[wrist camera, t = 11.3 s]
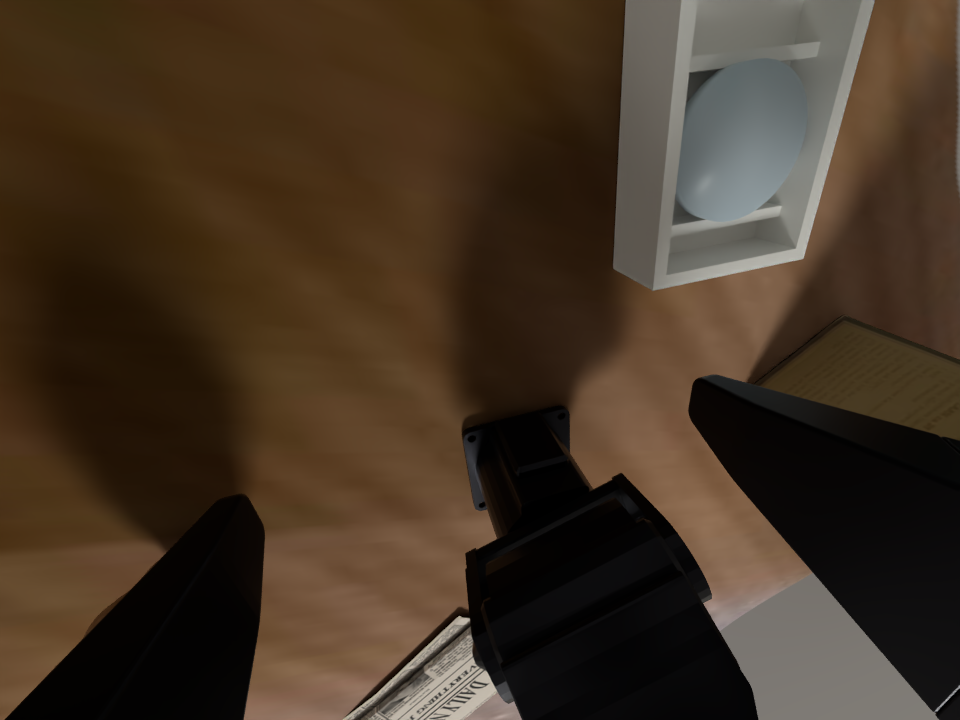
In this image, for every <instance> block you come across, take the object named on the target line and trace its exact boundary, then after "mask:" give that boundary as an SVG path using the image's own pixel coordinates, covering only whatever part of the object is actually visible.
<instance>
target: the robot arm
mask: <svg viewBox="0 0 960 720" xmlns="http://www.w3.org/2000/svg"><path fill="white" fill-rule="evenodd" d="M688 411H689V416H690V419H691V421H692V423H693V424H694V425H695V427H696V428H697V430H698V431H699V432H700V434H701V435H702V437H703V438H704V440H705V441H706V442H707V444H708V445H709V447H710V448H711V449H712V451H713V452H714V454H715V455H716V457H717V458H718V459H719V461H720V462H721V464H722V465H723V466H724V468H725V469H726V471H727V472H728V473H729V475H730V476H731V477H732V479H733V480H734V481H735V482H736V484H737V485H738V486H739V487H740V488H741V490H742V491H743V492H744V493H745V494H746V495H747V497H748V498H749V499H750V500H751V501H752V502H753V504H754V505H755V506H756V507H757V508H758V509H759V511H760V512H761V513H762V514H763V515H764V516H765V518H766V519H767V520H768V521H769V522H770V523H771V525H772V526H773V527H774V528H775V529H776V530H777V531H778V533H779V534H780V535H781V536H782V537H783V538H784V540H785V541H786V542H787V543H788V544H789V545H790V547H791V548H792V549H793V550H794V551H795V552H796V554H797V555H798V556H799V557H800V558H801V559H802V560H803V562H804V563H805V564H806V565H807V566H808V567H809V569H810V570H811V571H812V572H813V573H814V574H815V576H816V577H817V578H818V579H819V580H820V581H821V582H822V584H823V585H824V586H825V587H826V588H827V589H828V591H829V592H830V593H831V594H832V595H833V596H834V598H835V599H836V600H837V601H838V602H839V603H840V605H842V607H843V608H844V609H845V610H846V612H847V613H848V614H849V615H850V616H851V617H852V619H853V620H854V621H855V622H856V623H857V624H858V625H859V627H860V628H861V629H862V630H863V631H864V632H865V634H866V635H867V636H868V637H869V638H870V639H871V641H872V642H873V643H874V644H875V645H876V646H877V647H878V649H879V650H880V651H881V652H882V653H883V654H884V656H885V657H886V658H887V659H888V660H889V661H890V663H891V664H892V665H893V666H894V667H895V668H896V669H897V671H898V672H899V673H900V674H901V675H902V677H903V678H904V679H905V680H906V681H907V682H908V683H909V685H910V686H911V687H912V688H913V689H914V690H915V692H916V693H917V694H918V695H919V696H920V697H921V699H922V700H923V701H924V702H925V703H926V704H927V705H928V707H929V708H930V709H931V710H932V711H933V712H936V716H937V718H938V719H939V720H960V441H959V440H956V439H952V438H948V437H944V436H943V437H940V436H938V435H937V434H933V433H930V432H926V431H922V430H919V429H915V428H911V427H908V426H904V425H900V424H896V423H893V422H889V421H885V420H882V419H878V418H874V417H871V416H867V415H863V414H860V413H856V412H852V411H849V410H845V409H841V408H838V407H834V406H830V405H826V404H823V403H819V402H815V401H812V400H808V399H804V398H801V397H797V396H793V395H790V394H786V393H782V392H779V391H775V390H771V389H767V388H764V387H760V386H756V385H753V384H749V383H745V382H742V381H738V380H734V379H731V378H727V377H723V376H720V375H708V376H704V377H700V378H697V379H696V380H695V381H694V383H693V385H692V391H691V397H690V403H689V409H688ZM560 413H562V414H561V415H560V416H558V415H559V414H560ZM471 435H474V436H473V437H472V438H468V437H469V436H471ZM462 440H463V446H464V452H465V457H466V463H467V469H468V475H469V480H470V486H471V492H472V498H473V503H474V506H475V509H476V510H479V511H482V510H486V509H487V510H488V513H489V516H490V519H491V522H492V525H493V528H494V531H495V534H496V537H497V539H496V540H494V541H492V542H491V543H489V544H487V545H485V546H483V547H481V548H479V549H476V548H475V549H473V550H471V551H469V552H467V553H466V554H465V555H466V565H467V568H466V569H465V572H466V583H467V593H468V604H469V615H470V626H471V635H472V639H473V647H472V655H473V658H474V661H475V663H476V665H477V666H478V667H479V668H481V669H483V670H485V671H486V672H487V673H488V675H489V677H490V679H491V681H492V683H493V685H494V687H495V688H496V690H497V692H498V693H499V695H500V696H501V698H502V699H503V700H504V701H505V702H506V703H508V704H509V703H511V702H513V701H515V704H516V706H517V709H518V711H519V713H520V716H521V718H522V720H758V715H757V710H756V706H755V700H754V695H753V691H752V688H751V686H750V684H749V682H748V681H747V679H746V677H745V676H744V674H743V673H742V672H741V670H740V667H739V665H738V663H737V660H736V659H735V657H734V656H733V654H732V652H731V650H730V649H729V647H728V645H727V643H726V642H725V640H724V638H723V637H722V635H721V633H720V631H719V630H718V628H717V626H716V625H715V623H714V621H713V620H712V618H711V616H710V614H709V613H708V611H707V609H706V608H705V606H704V604H703V603H704V602H706V601H708V600H710V599H712V594H711V590H710V587H709V585H708V583H707V581H706V578H705V576H704V575H703V573H702V571H701V569H700V567H699V565H698V564H697V562H696V560H695V559H694V557H693V555H692V554H691V552H690V551H689V549H688V548H687V546H686V545H685V543H684V542H683V540H682V539H681V537H680V536H679V535H678V533H677V532H676V531H675V529H674V528H673V527H672V525H671V524H670V523H669V522H668V521H667V520H666V519H665V517H664V516H663V515H662V514H661V513H660V512H659V511H658V510H657V509H656V508H655V507H654V506H653V505H652V504H651V503H650V502H649V501H648V500H647V499H646V498H645V497H644V496H643V495H642V494H641V493H640V491H639V490H638V489H637V488H636V487H635V486H634V485H633V484H632V483H631V482H630V481H629V480H628V479H627V478H626V477H625V476H624V475H623V474H622V473H620V474H618V475H616V476H614V477H612V480H611V481H609V482H607V483H605V484H603V485H601V486H599V487H597V488H595V489H593V488H592V486H591V485H590V483H589V482H588V480H587V479H586V477H585V476H584V474H583V473H582V471H581V470H580V468H579V466H578V465H577V463H576V462H575V460H574V459H573V457H572V456H571V454H570V419H569V411H568V410H567V409H566V407H565V406H562V405H561V406H555V407H551V408H547V409H543V410H539V411H535V412H531V413H527V414H523V415H519V416H515V417H511V418H507V419H503V420H499V421H495V422H491V423H487V424H483V425H479V426H475V427H471V428H468V429H466V430H465V431H464V432H463V433H462ZM481 502H482V503H481ZM264 543H265V531H264V526H263V523H262V521H261V519H260V518H259V516H258V514H257V512H256V510H255V509H254V507H253V505H252V503H251V501H250V500H249V498H248V497H247V496H246V495H245V494H237V495H233V496H229V497H225V498H222V499H219V500H218V501H216V502H215V503H214V504H213V505H212V506H211V507H210V508H209V509H208V510H207V511H206V512H205V514H204V515H203V516H202V517H201V518H200V519H199V520H198V521H197V522H196V523H195V524H194V525H193V526H192V527H191V528H190V529H189V530H188V531H187V532H186V533H185V534H184V535H183V536H182V537H181V538H180V539H179V540H178V541H177V542H176V543H175V544H174V546H173V547H172V548H171V549H170V550H169V551H168V552H167V553H166V554H165V555H164V556H163V557H162V558H161V559H160V560H159V561H158V562H157V563H156V564H155V565H154V566H153V567H152V568H151V569H150V570H149V571H148V572H147V573H146V574H145V575H144V576H143V577H142V579H141V580H140V581H139V582H138V583H137V584H136V585H135V586H134V587H133V588H132V589H131V590H130V591H129V592H128V593H127V594H126V595H125V596H124V597H123V598H122V599H121V600H120V601H119V602H118V603H117V604H116V605H115V606H114V607H113V608H112V609H111V610H110V612H109V613H108V614H107V615H106V616H105V617H104V618H103V619H102V620H101V621H100V622H99V623H98V624H97V625H96V626H95V627H94V628H93V629H92V630H91V631H90V632H89V633H88V634H87V635H86V636H85V637H84V638H83V639H82V640H81V641H80V642H79V643H78V645H77V646H76V647H75V648H74V649H73V650H72V651H71V652H70V653H69V654H68V655H67V656H66V657H65V658H64V659H63V660H62V661H61V662H60V663H59V664H58V665H57V666H56V667H55V668H54V669H53V670H52V671H51V672H50V673H49V674H48V675H47V676H46V677H45V678H44V680H43V681H42V682H41V683H40V684H39V685H38V686H37V687H36V688H35V689H34V690H33V691H32V692H31V693H30V694H29V695H28V696H27V697H26V698H25V699H24V700H23V701H22V702H21V703H20V704H19V705H18V706H17V707H16V708H15V709H14V710H13V711H12V712H11V714H10V715H9V716H8V717H7V718H6V719H5V720H244V714H245V708H246V702H247V697H248V691H249V685H250V679H251V673H252V667H253V661H254V655H255V649H256V643H257V637H258V630H259V623H260V613H261V598H262V579H263V561H264Z"/></svg>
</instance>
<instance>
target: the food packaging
mask: <svg viewBox="0 0 960 720" xmlns="http://www.w3.org/2000/svg"><path fill="white" fill-rule="evenodd" d="M754 385H756V386H760V387H764V388H767V389H771V390H775V391H779V392H782V393H786V394H790V395H793V396H797V397H801V398H804V399H808V400H812V401H815V402H819V403H823V404H826V405H830V406H834V407H838V408H841V409H845V410H849V411H852V412H856V413H860V414H863V415H867V416H871V417H874V418H878V419H882V420H885V421H889V422H893V423H896V424H900V425H904V426H908V427H911V428H915V429H919V430H922V431H926V432H930V433H933V434H937V435H938V436H940V437H943V436H944V437H948V438H952V439H956V440H959V441H960V360H958V359H956V358H953V357H951V356H948V355H945V354H943V353H940V352H938V351H935V350H932V349H930V348H927V347H925V346H922V345H919V344H917V343H914V342H912V341H909V340H906V339H904V338H901V337H899V336H896V335H894V334H891V333H888V332H886V331H883V330H881V329H878V328H875V327H873V326H870V325H868V324H865V323H862V322H860V321H857V320H855V319H852V318H850V317H849V316H847V315H843V316H841V317H840V318H839V319H837V320H836V321H834V322H833V323H832V324H831V325H829V326H828V327H827V328H825V329H824V330H823V331H821V332H820V333H819V334H818V335H817V336H815V337H814V338H813V339H812V340H811V341H809V342H808V343H807V344H805V345H804V346H803V347H801V348H800V349H799V350H797V351H796V352H795V353H793V354H792V355H791V356H789V357H788V358H787V359H786V360H784V361H783V362H782V363H781V364H779V365H778V366H777V367H776V368H774V369H773V370H772V371H771V372H769V373H768V374H767V375H766V376H764V377H763V378H762V379H761V380H759V381H758V382H756V383H755V384H754Z"/></svg>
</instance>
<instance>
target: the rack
mask: <svg viewBox="0 0 960 720" xmlns="http://www.w3.org/2000/svg"><path fill="white" fill-rule="evenodd" d="M874 2H875V0H626V6H625V27H624V48H623V69H622V90H621V111H620V132H619V153H618V174H617V195H616V216H615V237H614V258H613V269H614V270H616V271H618V272H620V273H622V274H623V275H625V276H627V277H629V278H631V279H632V280H634V281H636V282H638V283H640V284H642V285H643V286H645V287H647V288H649V289H651V290H652V291H654V290H658V289H663V288H668V287H673V286H677V285H682V284H687V283H692V282H696V281H701V280H706V279H710V278H715V277H720V276H725V275H729V274H734V273H739V272H744V271H748V270H753V269H758V268H762V267H767V266H772V265H777V264H781V263H786V262H791V261H796V260H800V259H803V258H804V255H805V251H806V248H807V244H808V240H809V237H810V233H811V229H812V226H813V222H814V219H815V215H816V211H817V208H818V204H819V201H820V197H821V193H822V190H823V186H824V183H825V179H826V175H827V172H828V168H829V164H830V161H831V157H832V154H833V150H834V146H835V143H836V139H837V136H838V132H839V128H840V125H841V121H842V118H843V114H844V110H845V107H846V103H847V99H848V96H849V92H850V89H851V85H852V81H853V78H854V74H855V71H856V67H857V63H858V60H859V56H860V53H861V49H862V45H863V42H864V38H865V34H866V31H867V27H868V24H869V20H870V16H871V13H872V9H873V6H874Z"/></svg>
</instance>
